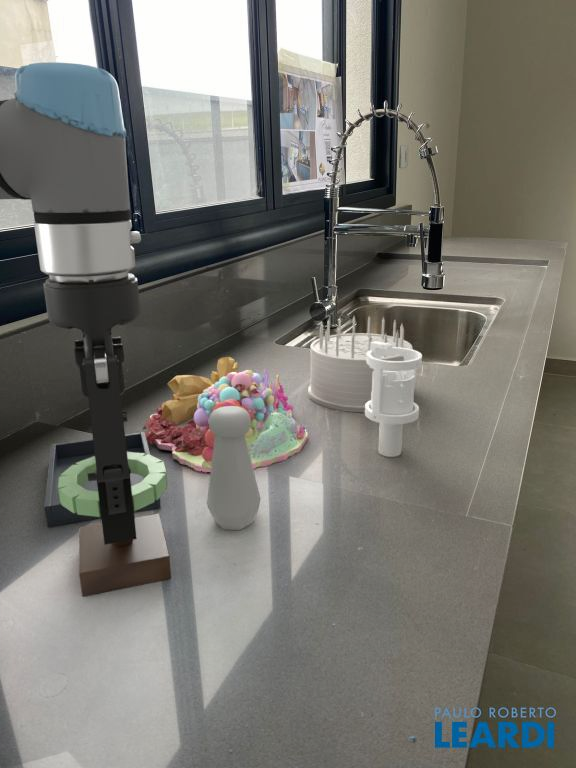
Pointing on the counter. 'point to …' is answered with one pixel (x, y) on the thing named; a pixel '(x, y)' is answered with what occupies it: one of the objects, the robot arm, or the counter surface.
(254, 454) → the multicoloured round lumpy mound
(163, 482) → the ring
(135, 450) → the tray
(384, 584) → the counter surface
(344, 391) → the cake
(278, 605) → the counter surface
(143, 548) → the stand
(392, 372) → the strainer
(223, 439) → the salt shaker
